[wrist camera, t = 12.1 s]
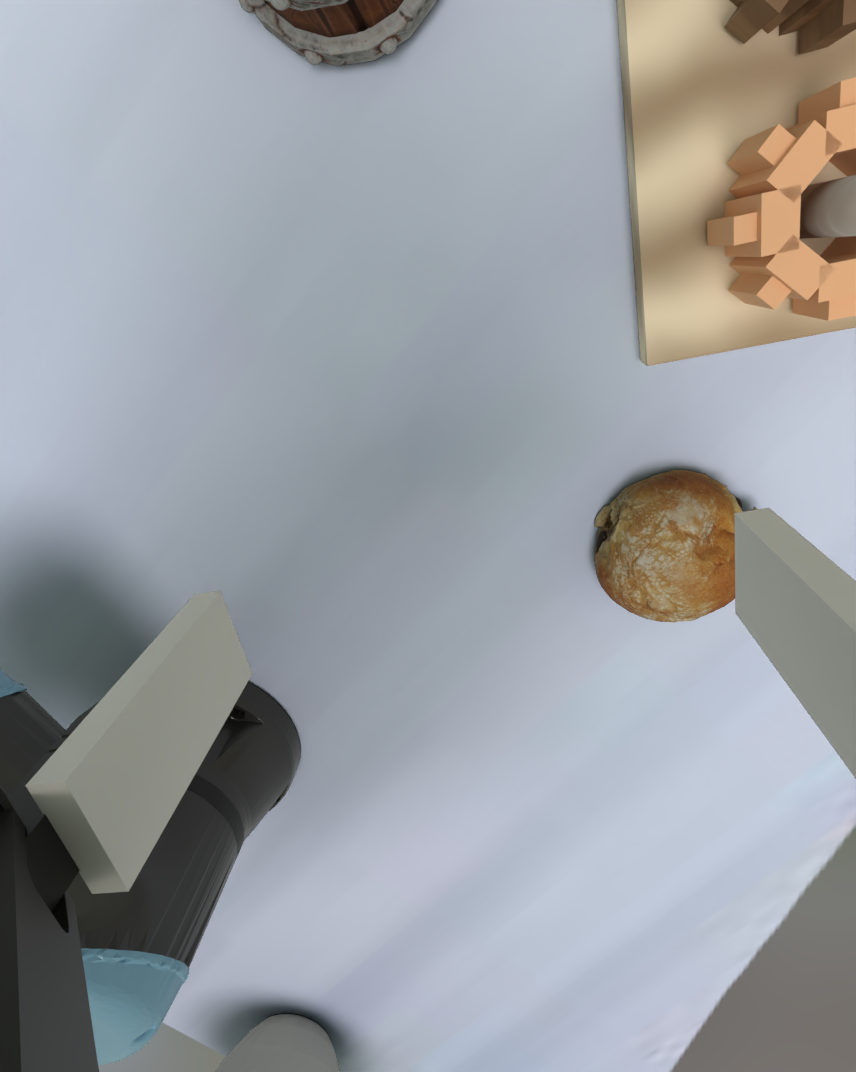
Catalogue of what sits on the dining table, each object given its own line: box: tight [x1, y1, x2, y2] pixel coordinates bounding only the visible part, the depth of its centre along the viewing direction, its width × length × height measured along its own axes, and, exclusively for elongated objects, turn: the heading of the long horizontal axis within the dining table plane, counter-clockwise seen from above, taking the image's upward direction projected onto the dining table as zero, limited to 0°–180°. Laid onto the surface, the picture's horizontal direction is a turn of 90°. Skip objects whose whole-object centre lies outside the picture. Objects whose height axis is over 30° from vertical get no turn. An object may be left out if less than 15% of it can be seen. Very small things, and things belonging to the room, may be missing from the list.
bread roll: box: [594, 470, 758, 622], centre depth 39 cm, size 10×10×8 cm
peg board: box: [617, 0, 856, 366], centre depth 27 cm, size 24×16×8 cm, turn 12°
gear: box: [707, 77, 856, 321], centre depth 29 cm, size 10×10×5 cm
